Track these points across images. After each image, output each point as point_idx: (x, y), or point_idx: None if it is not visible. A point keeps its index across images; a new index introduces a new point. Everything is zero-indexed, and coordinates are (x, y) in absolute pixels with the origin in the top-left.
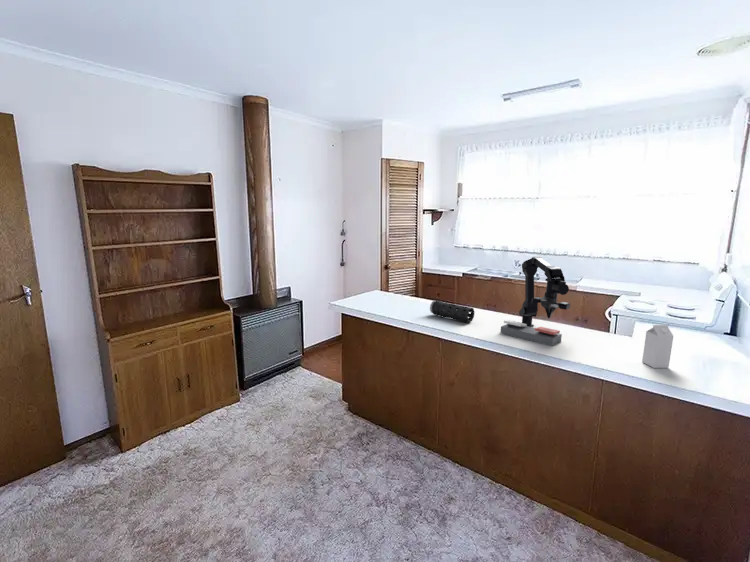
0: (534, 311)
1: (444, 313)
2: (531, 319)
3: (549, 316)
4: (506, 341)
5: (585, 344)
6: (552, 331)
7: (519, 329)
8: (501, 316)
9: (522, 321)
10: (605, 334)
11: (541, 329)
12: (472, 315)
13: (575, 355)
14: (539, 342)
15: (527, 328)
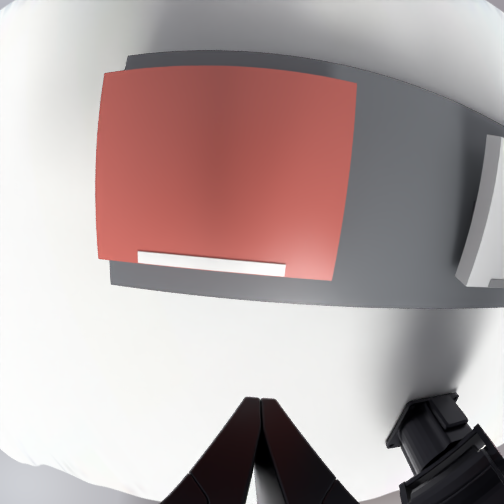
0: (430, 497)
1: None
2: (418, 453)
3: (240, 419)
4: (430, 7)
5: (28, 295)
6: (130, 110)
7: (473, 149)
8: (499, 430)
9: (459, 409)
10: (81, 473)
11: (271, 83)
12: None
13: (28, 49)
14: None
15: (438, 232)
